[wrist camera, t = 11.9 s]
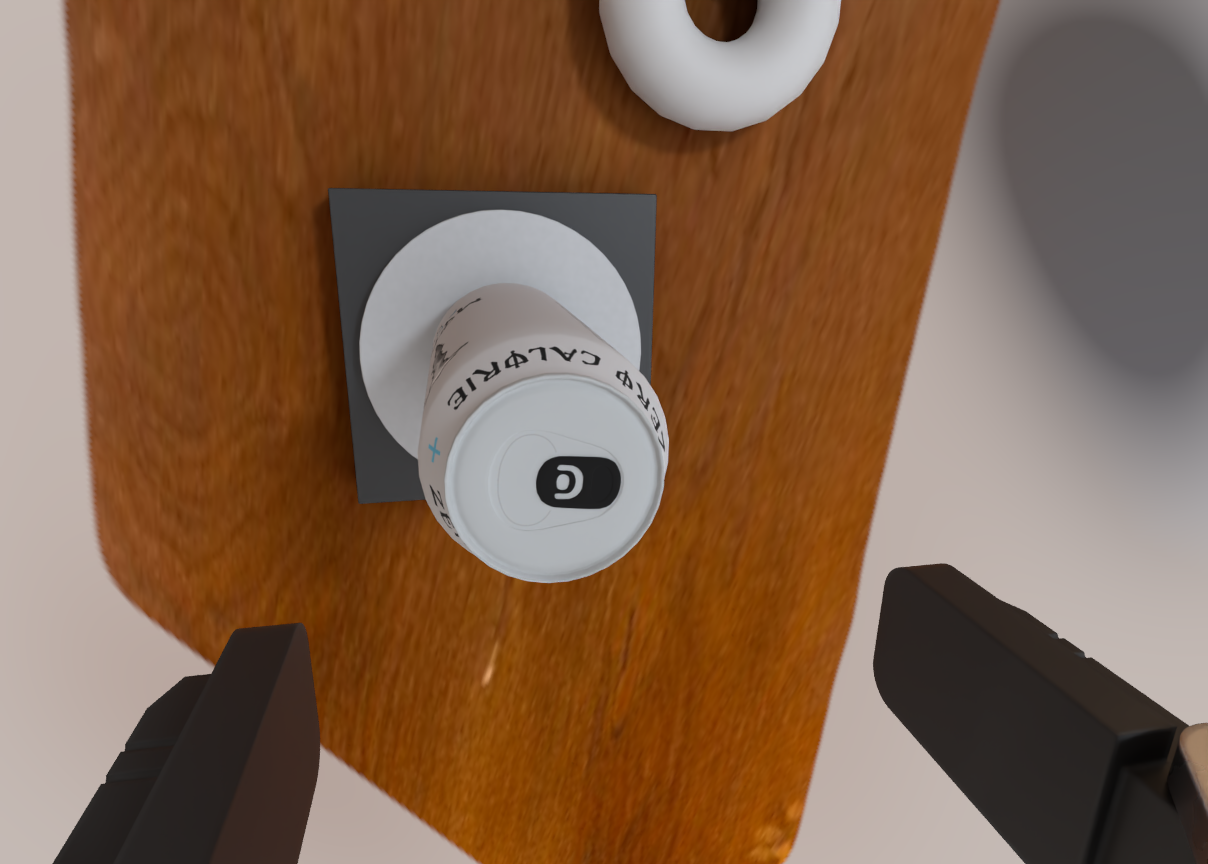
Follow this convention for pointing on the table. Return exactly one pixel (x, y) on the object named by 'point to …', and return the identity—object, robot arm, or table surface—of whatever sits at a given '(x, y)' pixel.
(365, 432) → the scale
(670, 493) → the table surface
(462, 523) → the energy drink can
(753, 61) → the donut
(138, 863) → the robot arm
